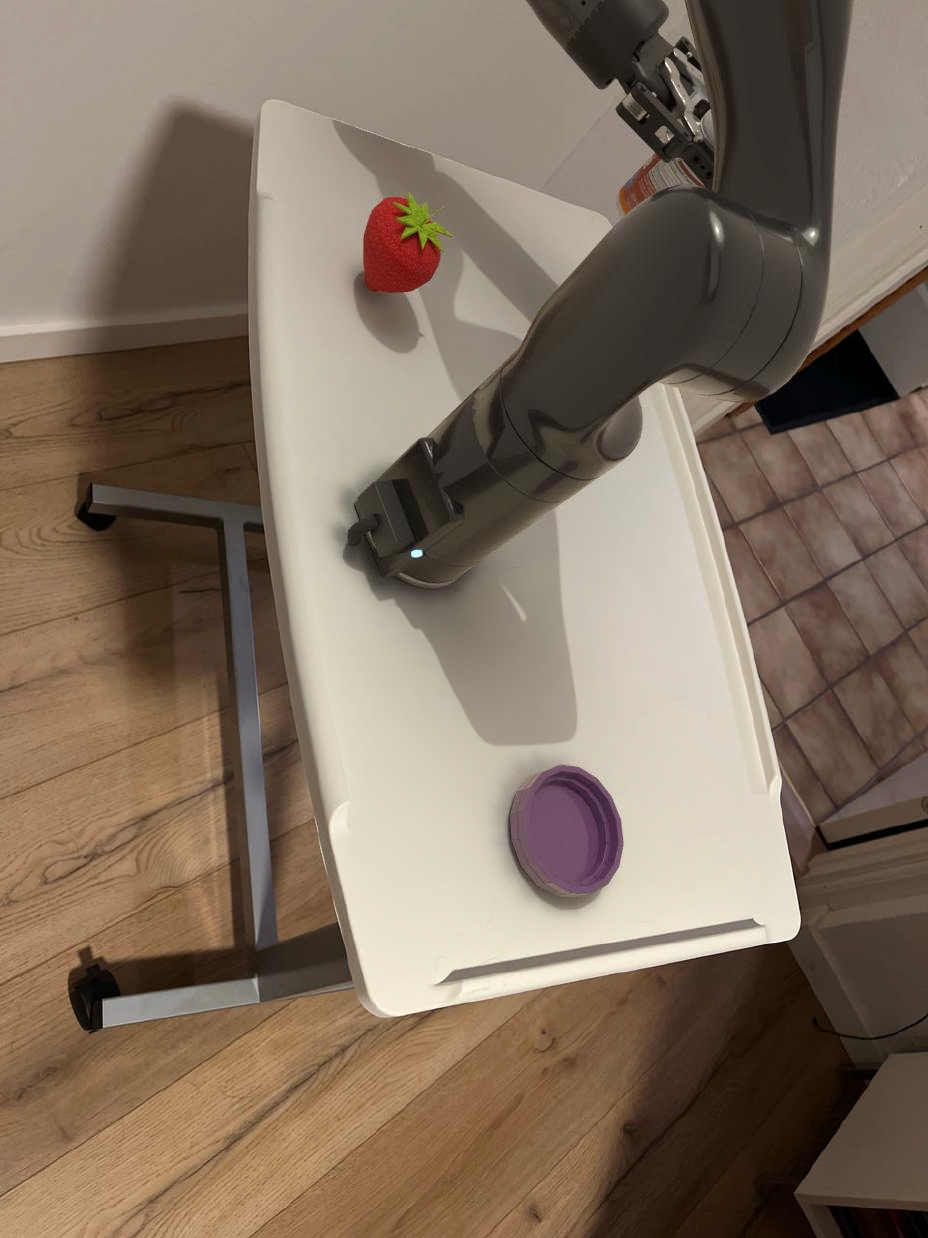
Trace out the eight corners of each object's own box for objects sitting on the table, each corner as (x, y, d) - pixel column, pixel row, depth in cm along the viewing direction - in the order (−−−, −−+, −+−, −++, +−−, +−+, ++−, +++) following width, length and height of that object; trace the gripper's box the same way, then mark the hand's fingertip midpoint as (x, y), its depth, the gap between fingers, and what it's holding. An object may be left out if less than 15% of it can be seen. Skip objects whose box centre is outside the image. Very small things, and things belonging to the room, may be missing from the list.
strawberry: (389, 254, 78) (452, 169, 70) (411, 329, 76) (478, 251, 68) (329, 241, 74) (388, 150, 67) (350, 319, 72) (414, 235, 65)
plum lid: (535, 917, 62) (555, 914, 60) (488, 793, 64) (506, 786, 62) (619, 870, 68) (640, 866, 66) (574, 757, 69) (593, 750, 68)
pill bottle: (641, 189, 84) (734, 96, 76) (673, 246, 84) (770, 158, 75) (602, 190, 80) (695, 91, 72) (635, 250, 80) (733, 158, 71)
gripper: (598, -13, 64) (750, 168, 68) (655, -57, 73) (787, 105, 77) (533, 72, 70) (677, 234, 74) (594, 21, 79) (720, 168, 83)
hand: (733, 167), depth 76 cm, fingers closed on pill bottle, 6 cm apart
